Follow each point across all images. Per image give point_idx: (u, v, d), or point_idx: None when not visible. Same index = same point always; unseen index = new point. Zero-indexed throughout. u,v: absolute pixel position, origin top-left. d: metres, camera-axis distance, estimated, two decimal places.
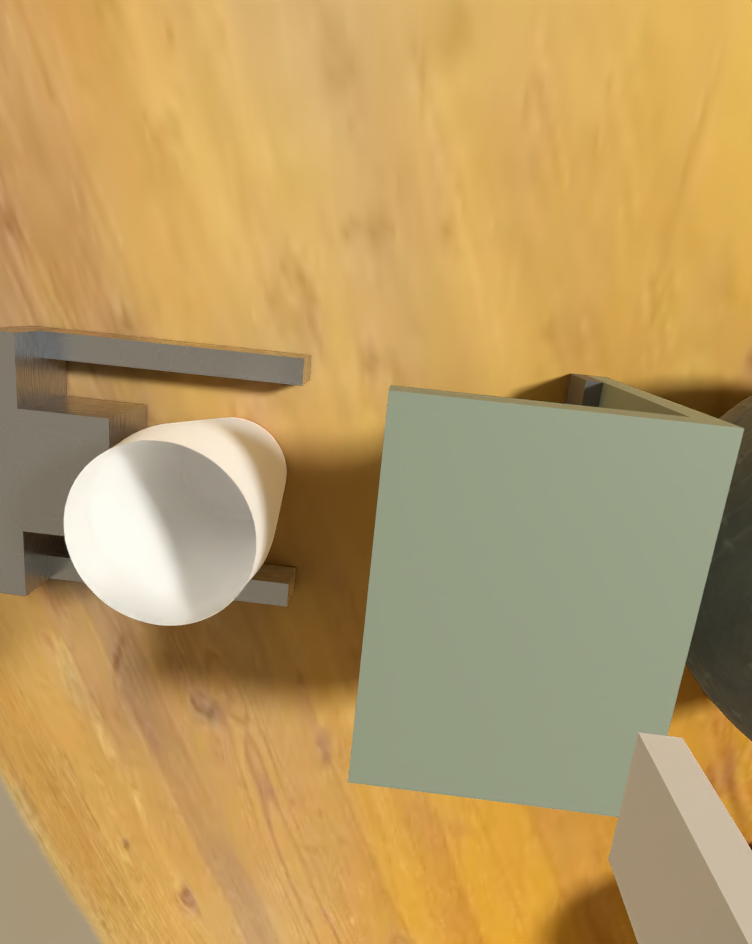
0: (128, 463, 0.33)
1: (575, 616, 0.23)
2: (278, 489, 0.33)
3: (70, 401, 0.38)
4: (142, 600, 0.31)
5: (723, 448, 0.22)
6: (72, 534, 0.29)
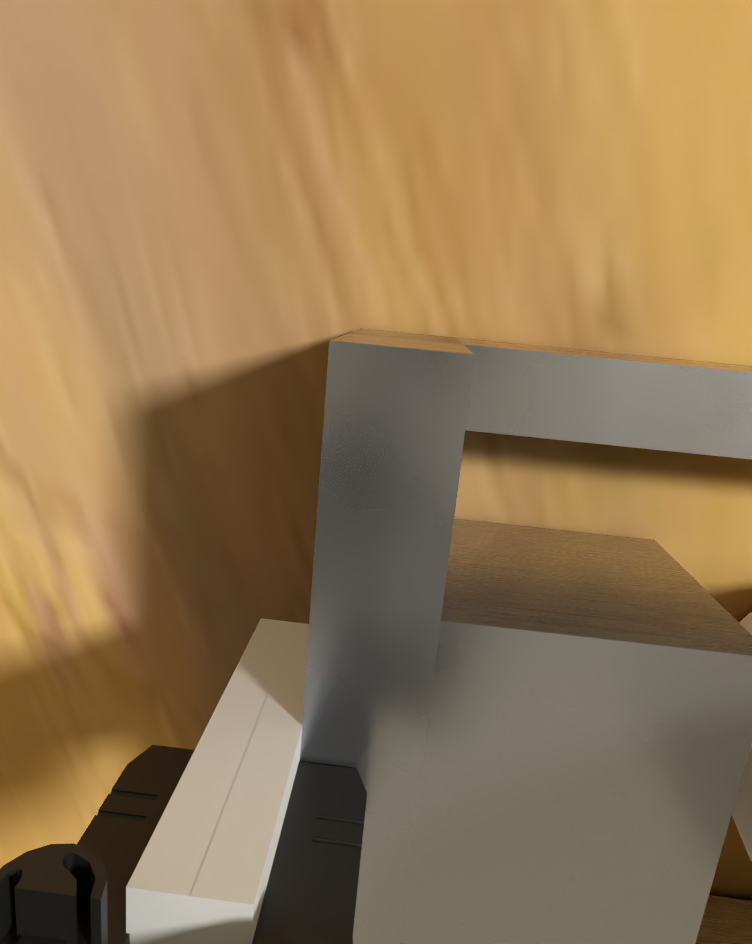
0: None
1: None
2: None
3: (485, 546, 0.13)
4: None
5: None
6: None
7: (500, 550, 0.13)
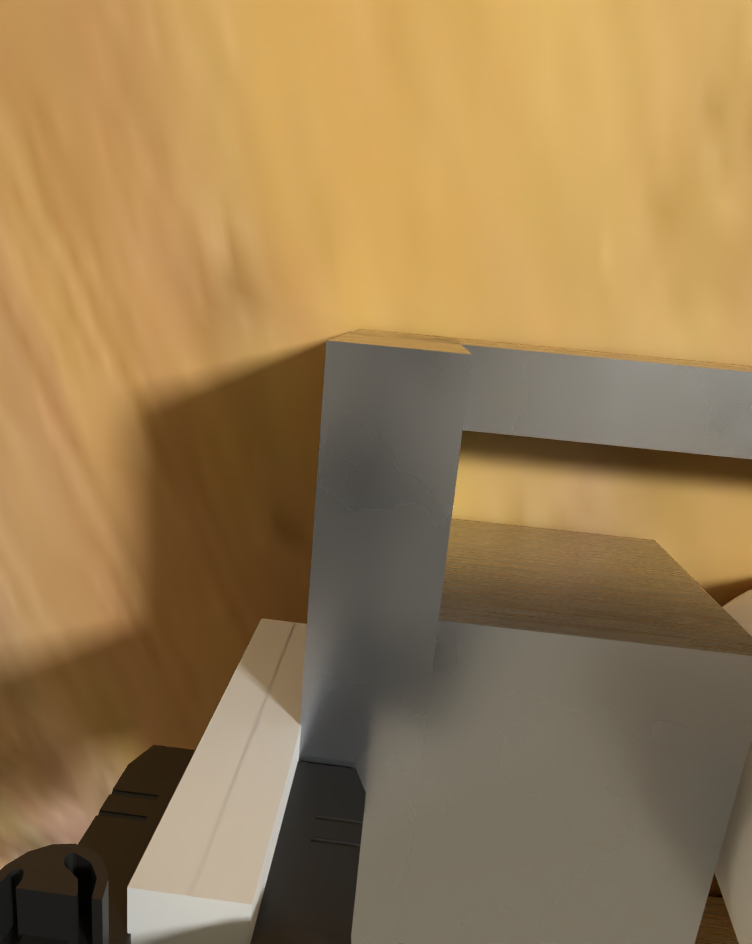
0: None
1: None
2: None
3: (484, 545, 0.13)
4: None
5: None
6: None
7: (499, 550, 0.13)
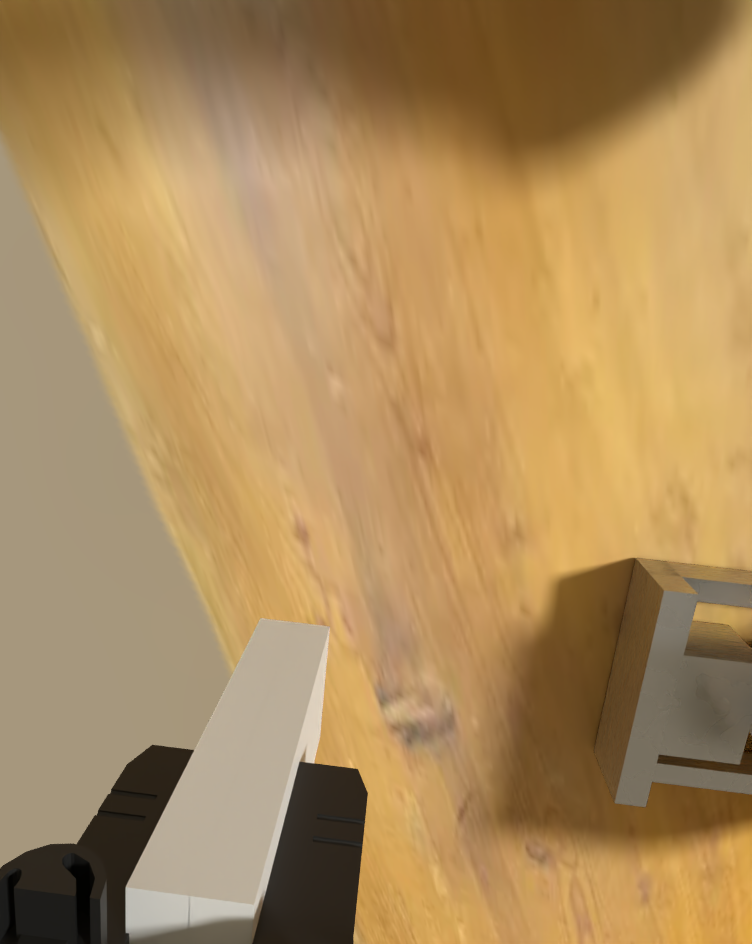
0: None
1: None
2: None
3: None
4: None
5: None
6: None
7: None
